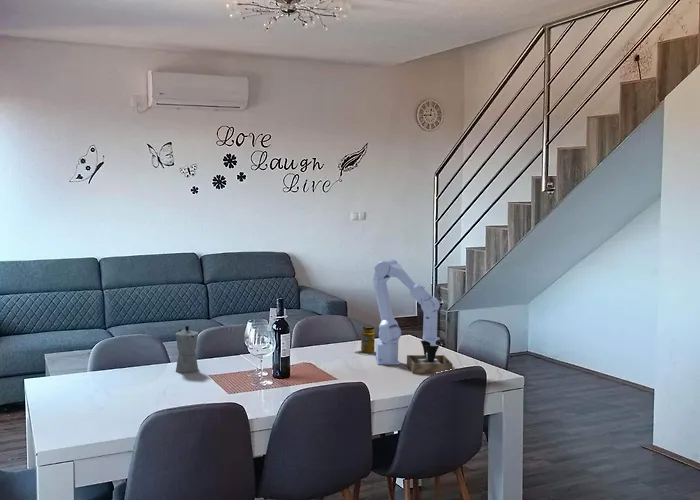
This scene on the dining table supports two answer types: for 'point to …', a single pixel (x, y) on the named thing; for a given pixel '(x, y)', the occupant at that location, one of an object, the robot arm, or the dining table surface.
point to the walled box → (428, 364)
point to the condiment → (367, 341)
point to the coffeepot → (186, 351)
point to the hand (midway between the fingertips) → (429, 359)
